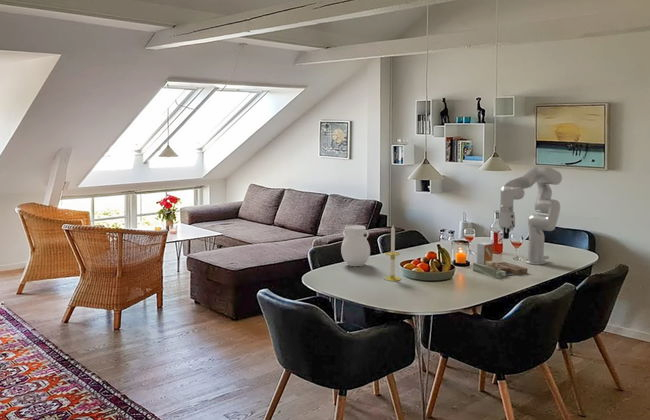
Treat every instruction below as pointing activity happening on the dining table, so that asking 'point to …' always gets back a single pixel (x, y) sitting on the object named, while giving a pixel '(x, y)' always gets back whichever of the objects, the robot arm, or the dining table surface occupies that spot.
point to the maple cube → (492, 264)
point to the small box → (484, 252)
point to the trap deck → (500, 270)
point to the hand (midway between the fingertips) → (506, 238)
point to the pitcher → (355, 245)
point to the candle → (392, 257)
